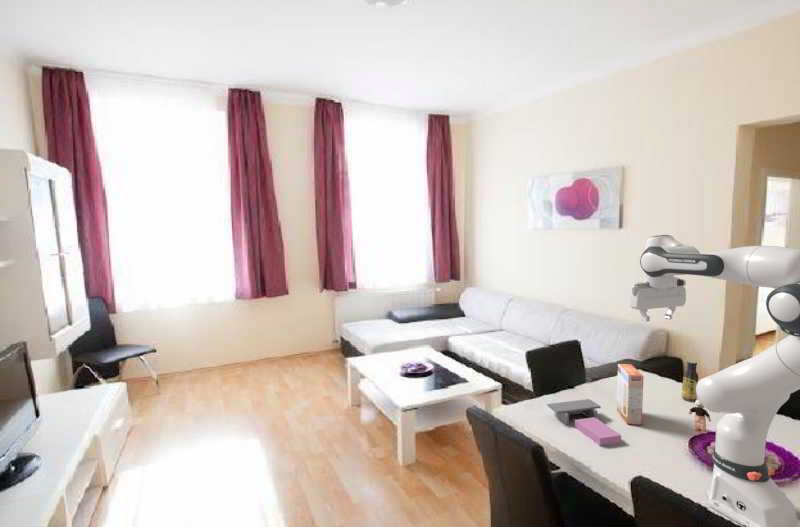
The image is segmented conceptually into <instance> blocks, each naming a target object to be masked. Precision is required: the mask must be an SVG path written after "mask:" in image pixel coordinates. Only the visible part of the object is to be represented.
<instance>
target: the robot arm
mask: <svg viewBox="0 0 800 527" xmlns="http://www.w3.org/2000/svg"><path fill="white" fill-rule="evenodd" d="M639 264H640V267H641V269H642V271H643V282H635V284H634V285H633V286H632V289H631V290H632V291H631V293H630V294H631V295H630V300H629V306H630V307H631V309H634V310H638V311H639V313H640V315H641V320H642V321H643V322H645V323H646V322H650V321H651V320H650V319H651V317H650V316H649V315H648V314H647V312H648V310H651V309H652V310H654V309H664V308H666V309H667V313H664V318H665V320H672V319H673V315H674V313H675V311H676V309H677V308H676V307H683V306H685V304H686V302H687V289H686V285H687V281H686V280H685V279H682V278H679V277H677V276H685V275H689V276H690V275H691V276H699V277H700V276H701V277H707V278H712V279H717V280H722V281H726V282H731V283H736V284H737V283H738V284H742V285H747V286H753V287H761V288H771V289H773V290H771V291H770V293H768V295H767V297H766V301H765V306H766V310H767V312H768V313H767V314H769V315H768V316H770V318H771V319H772V320H773V322H775V323H776V325H777V326H779V329H780V330H781V331H782V332H784V333H785V334H787V335H788V336H786V337H785V338H783V339H781V340H779V341H777V342H776V343H775V344H773V345H771V346H769V347H768V348H766V349H764V350H763V351H761V352H760V353H757V354H756V355H754V356H752V357H749V358H747V359H744V360H742V361H739V362H737V363H735V364H733V365H730V366H728V367H726V368H724V369H722V370H720V371H717V372H716V373H713V374H710V375H708V376H705V377H703V378H701V379H698V383H697V385H696V394H697V399H699V401H700V403H701V404H702V405H703V406H704V408H705V410H708V411H709V412H711V413H718V414H724V415H723V416H722V417H721V418H720V419H719V420H718V422H717V423H716V426H715V442H714V443H715V444H714V446H715V447H713V450H712V451H713V453H712V463H713V469H712V473H711V478H710V482H709V485H708V486H707V489H706V495H707V496H706V497H707V498H708V499H707V506H709V507H711V508H712V509H714V510H715V511H717V512H719V513H721V514H722V515H723V516H726V517H728V518H730V519H731V520H733V521H734V522H736V521H738V522H737V523H738V524H739V523H740V524H739V525H741V526H743V525H746V526H748V527H800V520H799V519H798V516H797V511H796V507H795V505H794V503H793V502H792V501H791V500H790V499H789V497H788V496H787V494H786V493H785V492H784V491H782V490H781V488H780V487H779V486H778V485H777V484H776V483H775V482H774V480H773V479H772V478H771V477H772V476H773V475H775V469H771V470H769V468H768V465H767V462H766V460H765V454H766V442H767V435H768V433H769V430H770V428H771V425H772V422H773V420H774V418H775V416H776V414H777V413H778V411H779V409H781V407H782V406H783V405H784V404H785V403H787V401H789V399H790V397H791V394H793V393H795V392H797V391H799V390H800V249H796V248H790V247H785V246H776V245H775V246H774V245H748V246H747V245H746V246H740V247H733V248H727V249H721V250H716V251H711V252H703V253H702V252H700V251H699V250H698V249H697V248H696V247H694V246H691V245H687V244H685V243H681V241H678V240H676V239H675V238H674V236H672V235H669V234H661V235H653V236H650V237H649V238H647V239H646V242H645V246H644V251H643V252H642V254H641V256H640V258H639ZM771 475H772V476H771Z"/></svg>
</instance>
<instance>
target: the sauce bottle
mask: <svg viewBox="0 0 800 527" xmlns="http://www.w3.org/2000/svg"><path fill="white" fill-rule="evenodd" d="M686 365H687V366H686V371H685V372H684V374H683V377H682V389H681V390H682V391H681V398H682V399H683V400H684V401H687V402H692V403H693V402H695V401H696V400H697V399H698V397H697V394H696V385H697V383H698V381H699V375H698V373H697V366H698V362H697V361H695V360H687V362H686Z"/></svg>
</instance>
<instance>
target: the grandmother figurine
mask: <svg viewBox="0 0 800 527" xmlns="http://www.w3.org/2000/svg"><path fill="white" fill-rule="evenodd" d="M694 404H695V405H696V406H694V407H691V408H690V409H689V411H688V415H692V414H693V413H695V414H694V428H693V430H694V431H696V432H699V431H700V432H701V433H702V434H706V433H705V432H708V433H709V430H708V429H707V421H708V422H709V423H710V422H712V419H711V415H710V414H709V412H708V411H707V409H706V408H705V407H704V406H703V405H702V404H701V403H700V401H699V399H698V398H696V401H694ZM704 408H705V409H704Z"/></svg>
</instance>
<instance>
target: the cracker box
mask: <svg viewBox="0 0 800 527" xmlns="http://www.w3.org/2000/svg"><path fill="white" fill-rule="evenodd" d="M644 378H645V377H644V375H643V373H641V372H640V371H639V370H638V369H637V368H636V367H635V366H634V365H633V364H630V363H618V364H617V379H616V380H617V383H616V384H617V387H616V388H617V390H616V411H617V412H618V413H619V415H620V417H622V418H623V420H624V421H625V423H626V424H627V425H637V426H639V425H640V426H642V425H643V402H644V400H643V397H644Z"/></svg>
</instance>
